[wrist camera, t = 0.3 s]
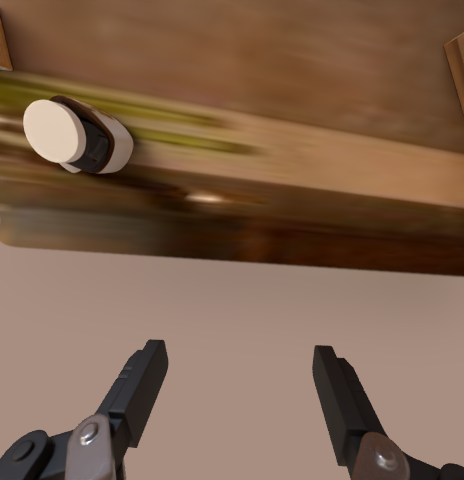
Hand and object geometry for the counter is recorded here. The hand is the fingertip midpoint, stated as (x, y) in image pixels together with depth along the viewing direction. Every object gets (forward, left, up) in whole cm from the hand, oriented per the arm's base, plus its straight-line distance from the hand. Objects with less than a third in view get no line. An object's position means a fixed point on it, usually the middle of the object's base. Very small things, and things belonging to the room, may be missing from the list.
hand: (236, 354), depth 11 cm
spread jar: (-13, -25, -30) cm, 41 cm away
